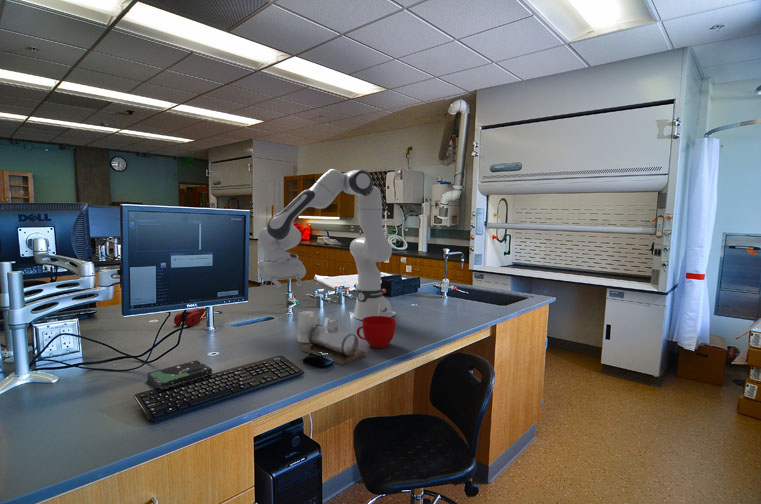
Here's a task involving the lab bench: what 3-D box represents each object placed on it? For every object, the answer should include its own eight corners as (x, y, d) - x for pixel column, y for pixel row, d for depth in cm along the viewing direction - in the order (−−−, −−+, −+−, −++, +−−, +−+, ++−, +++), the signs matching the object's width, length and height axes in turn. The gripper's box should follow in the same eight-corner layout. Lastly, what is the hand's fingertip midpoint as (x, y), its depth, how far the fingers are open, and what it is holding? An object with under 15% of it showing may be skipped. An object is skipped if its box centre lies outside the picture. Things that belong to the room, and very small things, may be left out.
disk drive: (196, 368, 128) (146, 381, 117) (196, 359, 128) (146, 372, 116) (212, 377, 122) (161, 392, 110) (212, 368, 122) (161, 382, 110)
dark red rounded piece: (189, 327, 170) (189, 316, 169) (174, 326, 171) (173, 315, 171) (210, 318, 186) (210, 307, 185) (196, 317, 187) (196, 306, 186)
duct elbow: (306, 336, 162) (307, 310, 161) (321, 341, 156) (321, 314, 155) (294, 340, 157) (295, 313, 156) (309, 345, 151) (309, 317, 150)
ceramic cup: (346, 345, 152) (347, 320, 151) (380, 338, 163) (381, 314, 162) (367, 355, 142) (368, 328, 141) (402, 346, 153) (402, 321, 152)
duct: (324, 342, 155) (325, 312, 154) (364, 355, 142) (365, 323, 141) (300, 350, 146) (300, 318, 144) (341, 365, 133) (342, 330, 131)
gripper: (258, 256, 161) (270, 283, 155) (300, 254, 175) (313, 279, 170) (253, 266, 164) (264, 293, 158) (294, 263, 179) (306, 288, 173)
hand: (290, 286), depth 164 cm, fingers open, 8 cm apart
